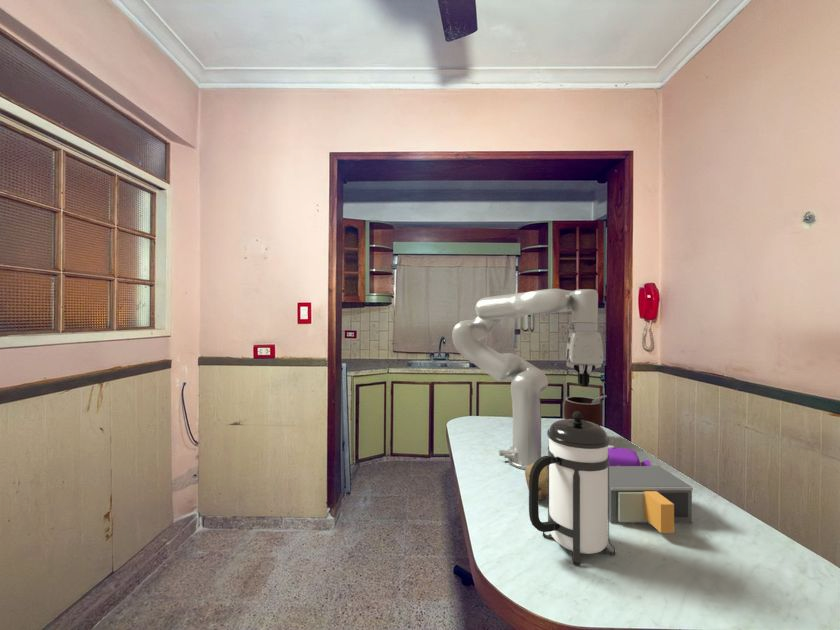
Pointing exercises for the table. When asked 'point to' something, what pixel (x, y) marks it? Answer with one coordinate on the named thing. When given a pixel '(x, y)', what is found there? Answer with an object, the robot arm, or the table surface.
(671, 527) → the orange block handle
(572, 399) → the mate gourd
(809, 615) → the table surface
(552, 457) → the coffee press
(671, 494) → the box
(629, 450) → the toy camera
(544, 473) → the natural sponge
